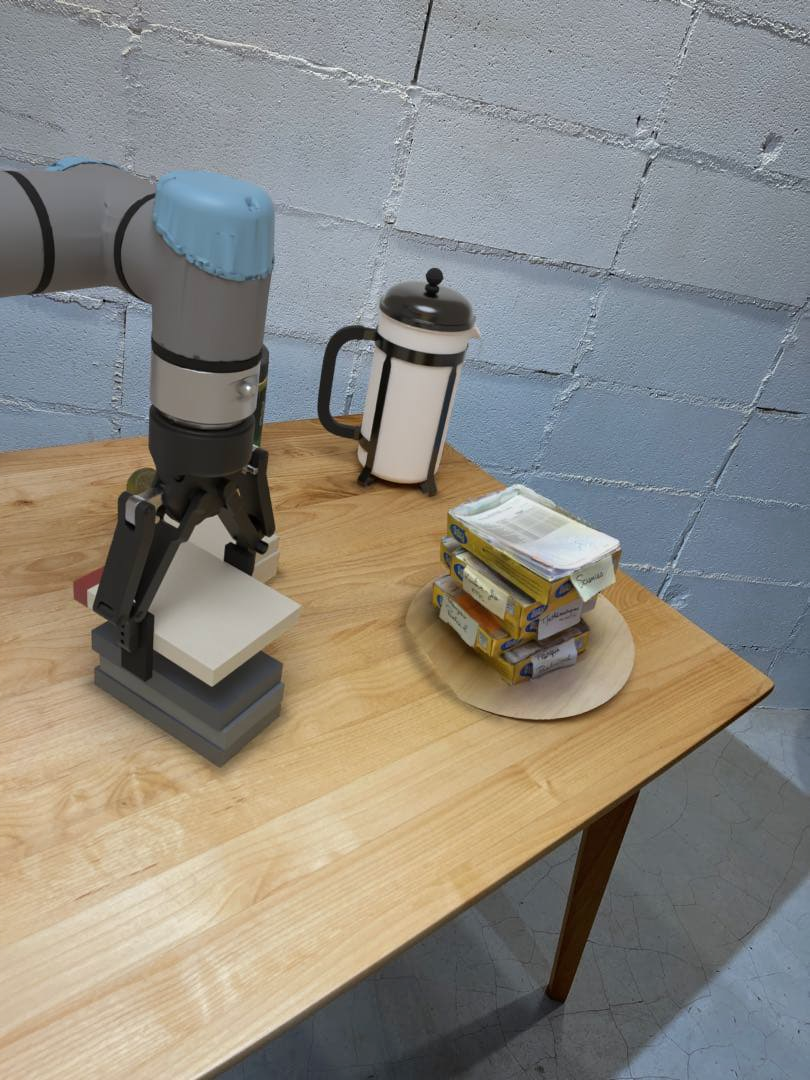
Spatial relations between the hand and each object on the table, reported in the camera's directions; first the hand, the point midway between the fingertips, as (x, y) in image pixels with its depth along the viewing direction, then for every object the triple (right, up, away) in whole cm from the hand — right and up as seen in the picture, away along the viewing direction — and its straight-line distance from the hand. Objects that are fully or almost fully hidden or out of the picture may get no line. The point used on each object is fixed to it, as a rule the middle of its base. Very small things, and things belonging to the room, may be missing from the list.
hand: (188, 637), depth 71 cm
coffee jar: (-5, +17, +40) cm, 44 cm away
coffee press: (+16, +18, +48) cm, 54 cm away
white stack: (-4, +6, +22) cm, 23 cm away
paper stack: (+31, -3, +20) cm, 37 cm away
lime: (-13, +13, +30) cm, 35 cm away
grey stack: (-1, -6, +4) cm, 8 cm away
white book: (+1, +2, -2) cm, 3 cm away
